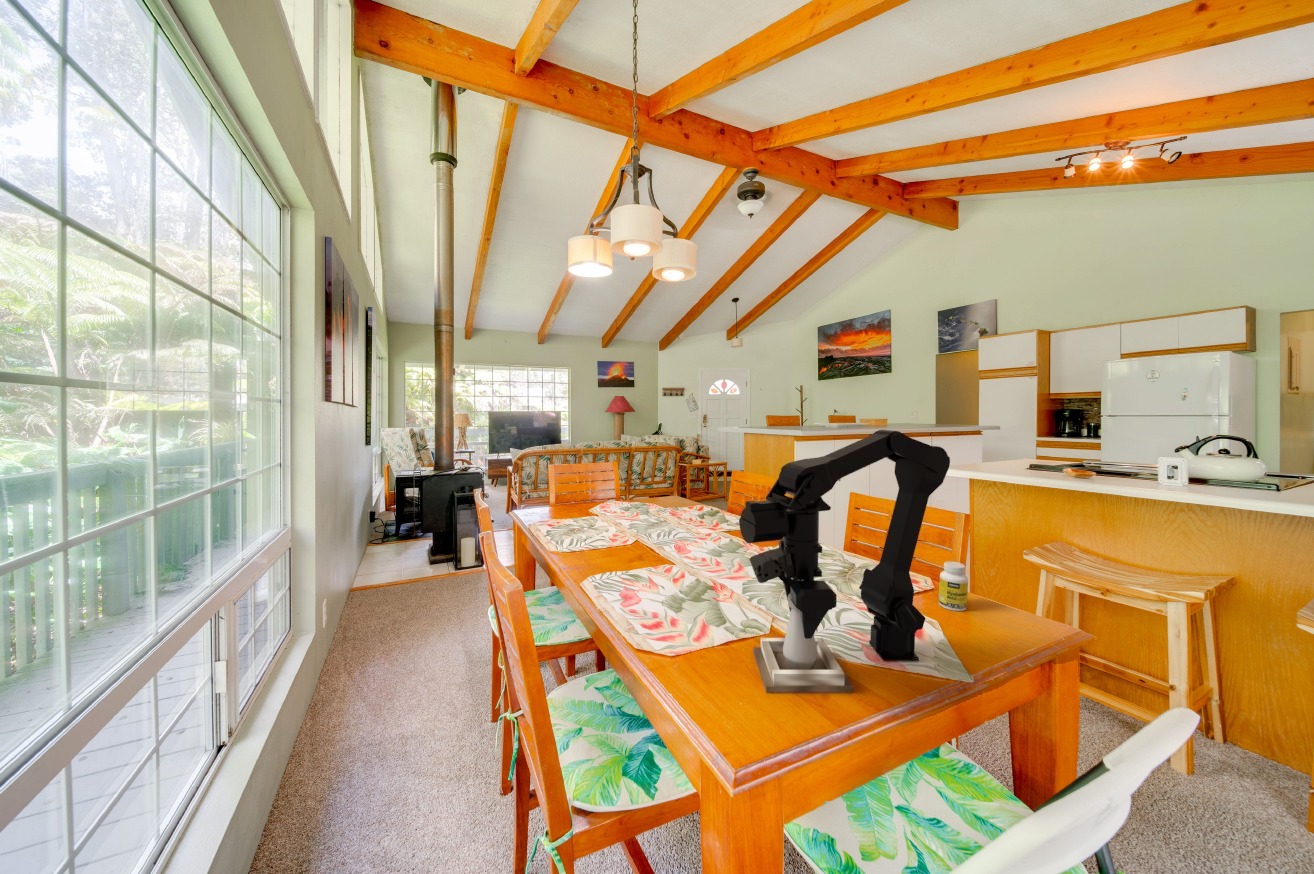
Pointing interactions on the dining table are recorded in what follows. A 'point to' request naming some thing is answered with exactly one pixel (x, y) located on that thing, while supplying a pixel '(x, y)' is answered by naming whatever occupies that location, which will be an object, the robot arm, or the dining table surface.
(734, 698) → the dining table surface
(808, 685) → the shaker stand
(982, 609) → the dining table surface
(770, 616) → the dining table surface
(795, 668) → the salt shaker
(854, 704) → the dining table surface
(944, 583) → the supplement bottle
